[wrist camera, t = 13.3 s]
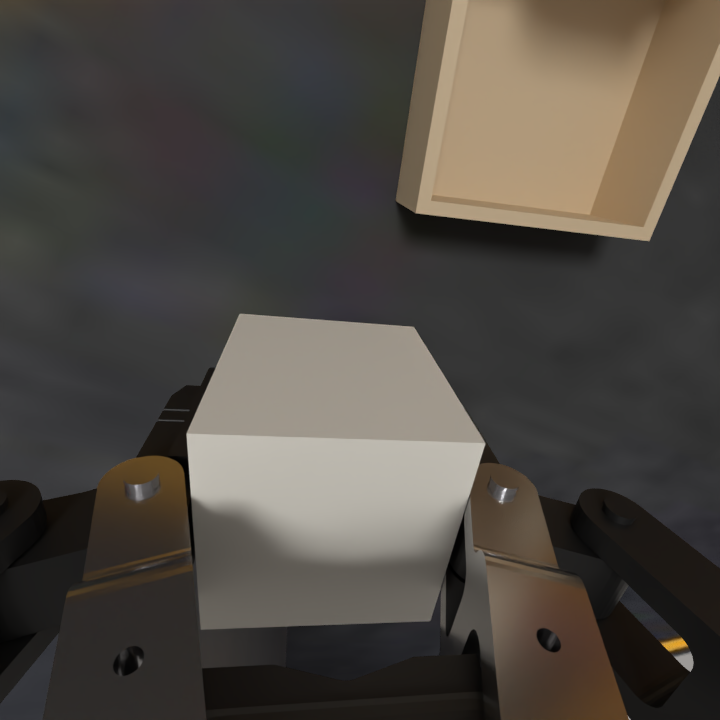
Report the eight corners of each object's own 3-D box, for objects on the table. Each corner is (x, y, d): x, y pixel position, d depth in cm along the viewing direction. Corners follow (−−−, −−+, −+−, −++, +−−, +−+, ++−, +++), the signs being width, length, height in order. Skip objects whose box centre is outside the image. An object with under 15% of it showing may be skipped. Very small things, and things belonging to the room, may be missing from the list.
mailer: (589, 224, 25) (649, 241, 20) (395, 201, 23) (415, 213, 19) (750, -228, 17) (905, -362, 12) (474, -318, 15) (541, -510, 11)
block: (388, 460, 13) (430, 621, 8) (240, 457, 12) (200, 629, 8) (413, 326, 11) (485, 443, 6) (239, 313, 10) (187, 433, 6)
